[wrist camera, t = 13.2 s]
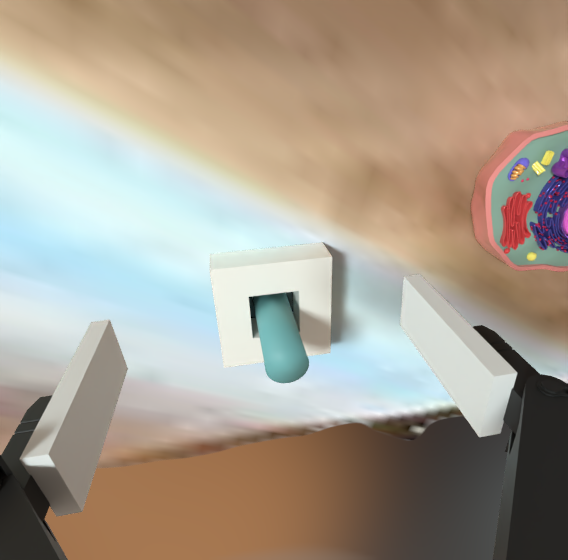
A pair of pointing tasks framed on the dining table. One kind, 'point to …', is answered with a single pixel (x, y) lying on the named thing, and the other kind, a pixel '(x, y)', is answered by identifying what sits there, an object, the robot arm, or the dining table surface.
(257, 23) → the dining table surface
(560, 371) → the dining table surface
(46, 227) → the dining table surface
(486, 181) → the cell model
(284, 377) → the peg
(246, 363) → the socket block
